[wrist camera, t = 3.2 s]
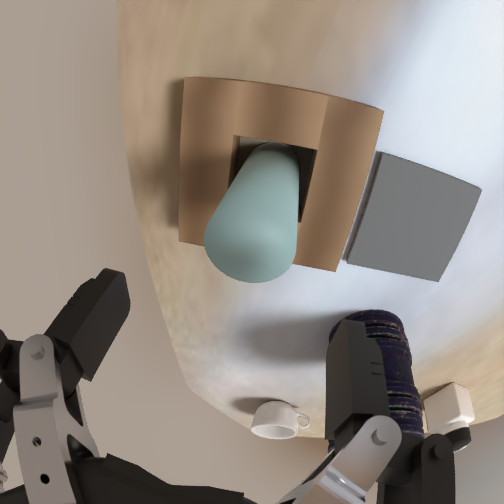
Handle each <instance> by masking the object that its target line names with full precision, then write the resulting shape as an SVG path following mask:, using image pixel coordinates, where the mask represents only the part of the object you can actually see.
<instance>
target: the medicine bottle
mask: <svg viewBox="0 0 504 504" xmlns="http://www.w3.org/2000/svg"><path fill="white" fill-rule="evenodd" d="M423 403H424V409H425V415H426V422H427V429H428V432H429V433H434V434H436V433H438V434H443V435H445V436H446V437H447V438H448V439H449V440H450V441H451V443H452V446H453V451H454V452H456V451H459V450H461V449H463V448H464V447H466V446H467V445H468V444H469V443H470V441H471V436H470V431H469V425H468V423H470V422H471V421H473V420H474V419H475V417H474V412H473V408H472V404H471V400H470V396H469V392H468V389H466V388H464V387H462V386H460V385H458V384H456V383H454V382H452V383H451V384H449V385H448V386H446V387H444V388H443V389H441V390H440V391H438V392H436V393H435V394H433V395H431V396H430V397H428V398H426V399H424V401H423Z"/></svg>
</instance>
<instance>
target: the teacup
mask: <svg viewBox="0 0 504 504" xmlns="http://www.w3.org/2000/svg"><path fill="white" fill-rule="evenodd" d="M298 417H305V418H307V419H308V424H307V425H305V426H303V425H301V424H300V423H299V421H298V419H297V418H298ZM310 423H311V419H310V418H309V417H308V416H307V415H305V414H302V413H298V412H296V411H295V410H294V408H293V407H292V406H291V405H289V404H287V403H285V402H282V401H269V402H266V403H264V404H262V405H261V406H260V407H259V408H258V409H257V410H256V412H255V415H254V418H253V422H252V426H251V431H252V433H254V434H256V435H258V436H261V437H265V438H270V439H286V438H292V437H294V436H296V435H297V428H307V427H309V425H310Z"/></svg>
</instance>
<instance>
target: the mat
mask: <svg viewBox="0 0 504 504" xmlns="http://www.w3.org/2000/svg"><path fill="white" fill-rule="evenodd" d="M481 192H482V190H481V189H480V188H479V187H477V186H474V185H472V184H470V183H467V182H465V181H463V180H460V179H458V178H455V177H453V176H450V175H448V174H445V173H443V172H440V171H437V170H435V169H432V168H429V167H426V166H424V165H421V164H418V163H415V162H412V161H409V160H406V159H403V158H400V157H397V156H394V155H390V154H387V153H384V152H381V154H380V158H379V162H378V165H377V169H376V172H375V175H374V179H373V182H372V185H371V189H370V192H369V195H368V198H367V201H366V204H365V208H364V211H363V214H362V217H361V220H360V222H359V225H358V228H357V231H356V234H355V237H354V240H353V243H352V245H351V248H350V251H349V253H348V256H347V259H346V262H347V264H352V265H357V266H362V267H367V268H372V269H377V270H382V271H387V272H392V273H397V274H401V275H406V276H411V277H416V278H421V279H426V280H431V281H436V282H439V280H440V278H441V276H442V275H443V273H444V271H445V269H446V267H447V265H448V264H449V262H450V260H451V258H452V256H453V254H454V252H455V250H456V248H457V246H458V244H459V242H460V240H461V238H462V236H463V234H464V232H465V229H466V227H467V225H468V223H469V221H470V218H471V216H472V214H473V211H474V209H475V207H476V204H477V202H478V199H479V197H480V194H481Z"/></svg>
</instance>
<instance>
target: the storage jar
mask: <svg viewBox="0 0 504 504" xmlns="http://www.w3.org/2000/svg"><path fill="white" fill-rule="evenodd" d="M344 319H347V320H353V321H360V322H364V324H365V328H366V335H367V337H368V338H374V339H375V341H376V342H377V344H378V346H379V347H380V349H381V352H382V358H383V366H384V371H385V374H384V376H385V378H386V385H387V393H388V402H389V411H390V416H391V419H393V420H394V421H395V422H396V423H397V424H398V426H399V427H400V430H401V431H403V432H405V433H407V434H410V435H414V436H417V437H420V438H424V439H425V437H424V430H423V429H422V427H423V421H422V416H423V414H422V408H421V404H420V395H419V393H418V390H417V388H416V387H415V386H414V381H413V375H412V370H411V365H412V356H411V353H410V348H409V344H408V340H407V338H406V335H405V332H404V328H403V324H402V322H401V320H400V319H399V318H398V317H397V316H396V315H395V314H393V313H391V312H388V311H384V310H365V311H361V312H357V313H354V314H351V315H349V316H347V317H345V318H344ZM342 320H343V319H342ZM342 320H341V321H342ZM341 321H340V322H338V323H337V324H336V325H335V326H334V328H333V329H332V331H331V333H330V335H329V344H330V342H331V340H332V338H333V337H334V335H335V333H336V331H337V329H338V327H339V325H340V323H341ZM328 441H329V446H328V454H329V453H330V452H331V451H332V450H333V449H334V440H328Z"/></svg>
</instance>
